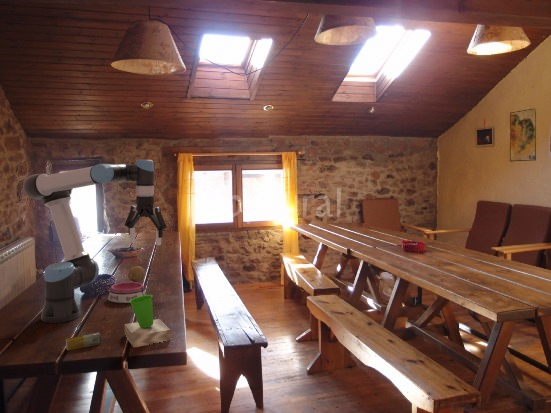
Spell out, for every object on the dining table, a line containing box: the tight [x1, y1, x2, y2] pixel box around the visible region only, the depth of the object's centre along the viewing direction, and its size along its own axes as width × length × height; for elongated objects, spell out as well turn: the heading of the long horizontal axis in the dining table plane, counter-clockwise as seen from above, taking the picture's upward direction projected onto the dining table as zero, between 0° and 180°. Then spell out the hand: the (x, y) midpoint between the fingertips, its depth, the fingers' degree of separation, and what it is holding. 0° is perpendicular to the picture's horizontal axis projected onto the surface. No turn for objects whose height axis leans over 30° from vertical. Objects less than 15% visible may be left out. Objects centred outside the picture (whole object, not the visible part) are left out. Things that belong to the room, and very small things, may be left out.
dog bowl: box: [107, 281, 147, 304], centre depth 233 cm, size 18×19×7 cm
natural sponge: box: [127, 265, 146, 283], centre depth 260 cm, size 9×9×10 cm
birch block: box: [124, 318, 171, 348], centre depth 182 cm, size 14×14×5 cm
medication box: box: [65, 332, 102, 351], centre depth 173 cm, size 12×3×4 cm, turn 126°
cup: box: [129, 294, 154, 328], centre depth 181 cm, size 9×9×11 cm
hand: (145, 243), depth 204 cm, fingers open, 13 cm apart
